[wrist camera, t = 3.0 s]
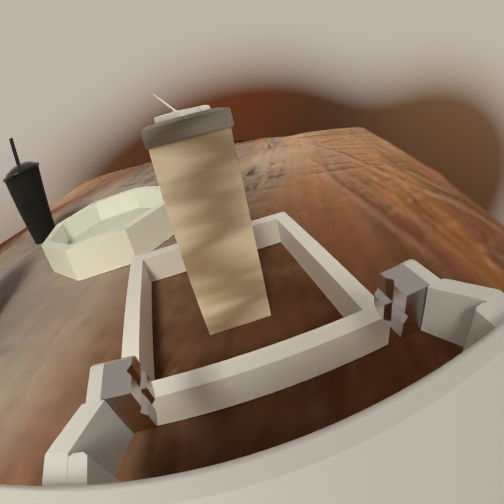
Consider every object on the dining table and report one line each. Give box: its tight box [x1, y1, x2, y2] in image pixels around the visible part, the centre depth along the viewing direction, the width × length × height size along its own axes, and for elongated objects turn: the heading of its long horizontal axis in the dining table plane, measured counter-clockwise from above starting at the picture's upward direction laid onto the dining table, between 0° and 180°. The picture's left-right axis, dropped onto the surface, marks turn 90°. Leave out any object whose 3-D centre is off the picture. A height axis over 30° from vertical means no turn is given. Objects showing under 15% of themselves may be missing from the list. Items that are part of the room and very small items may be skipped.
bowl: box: [41, 186, 174, 281], centre depth 41 cm, size 18×18×4 cm
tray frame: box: [121, 212, 391, 426], centre depth 24 cm, size 15×17×2 cm
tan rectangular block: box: [141, 108, 271, 335], centre depth 21 cm, size 5×5×14 cm
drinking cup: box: [3, 138, 55, 244], centre depth 46 cm, size 8×8×20 cm
